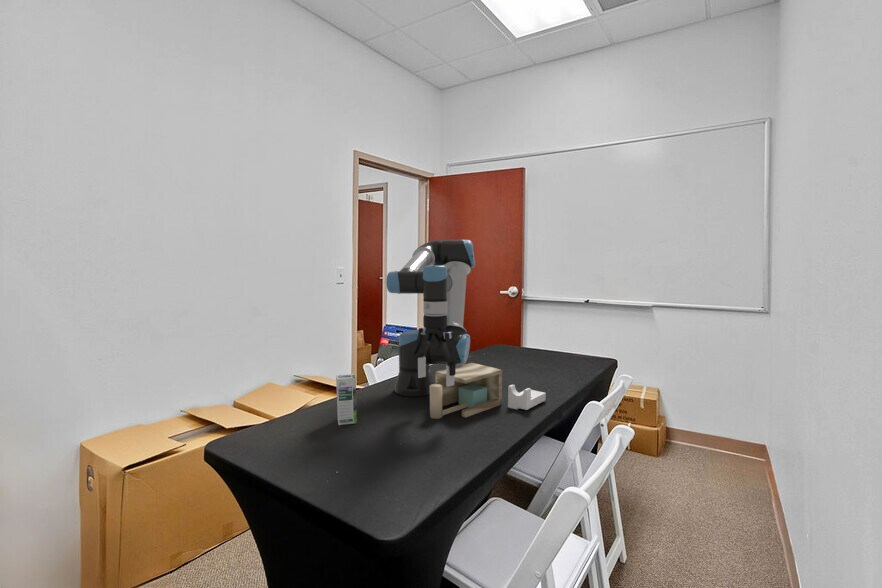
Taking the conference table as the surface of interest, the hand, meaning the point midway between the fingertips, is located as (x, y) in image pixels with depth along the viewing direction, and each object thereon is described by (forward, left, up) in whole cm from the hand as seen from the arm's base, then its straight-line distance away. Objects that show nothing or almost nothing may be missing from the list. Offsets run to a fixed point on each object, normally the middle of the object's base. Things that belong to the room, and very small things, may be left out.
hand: (435, 381), depth 137 cm
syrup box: (-16, -23, -12) cm, 30 cm away
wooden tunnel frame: (0, +15, -12) cm, 19 cm away
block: (0, +10, -12) cm, 15 cm away
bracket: (+13, +31, -12) cm, 35 cm away
